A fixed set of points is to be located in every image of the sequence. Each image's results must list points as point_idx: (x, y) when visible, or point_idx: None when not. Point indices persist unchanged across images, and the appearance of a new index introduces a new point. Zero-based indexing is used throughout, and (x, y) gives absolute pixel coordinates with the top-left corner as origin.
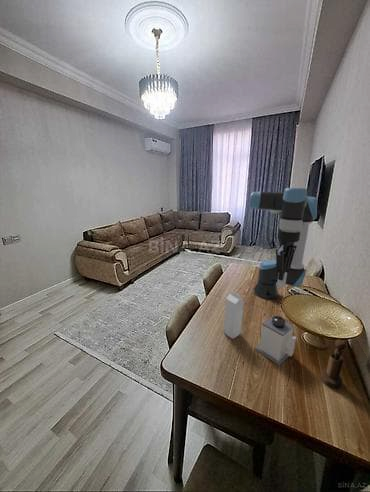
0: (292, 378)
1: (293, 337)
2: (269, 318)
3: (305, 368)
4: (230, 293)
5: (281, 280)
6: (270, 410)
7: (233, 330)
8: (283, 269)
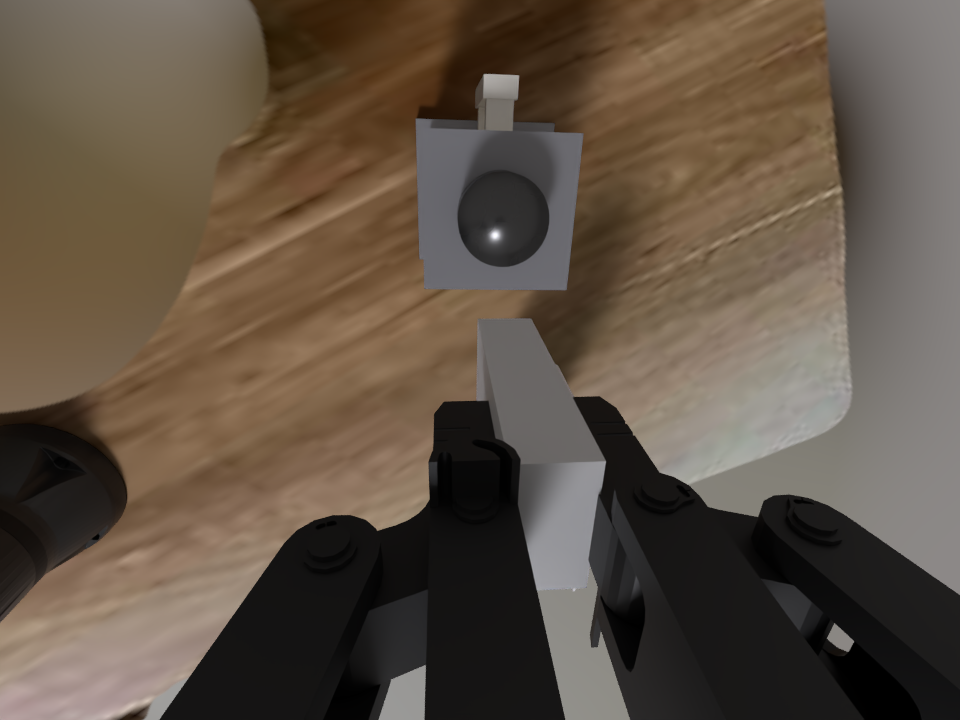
0: (581, 38)
1: (502, 87)
2: (479, 288)
3: (468, 13)
4: None
5: (604, 400)
6: (802, 35)
7: (567, 385)
8: (841, 580)
